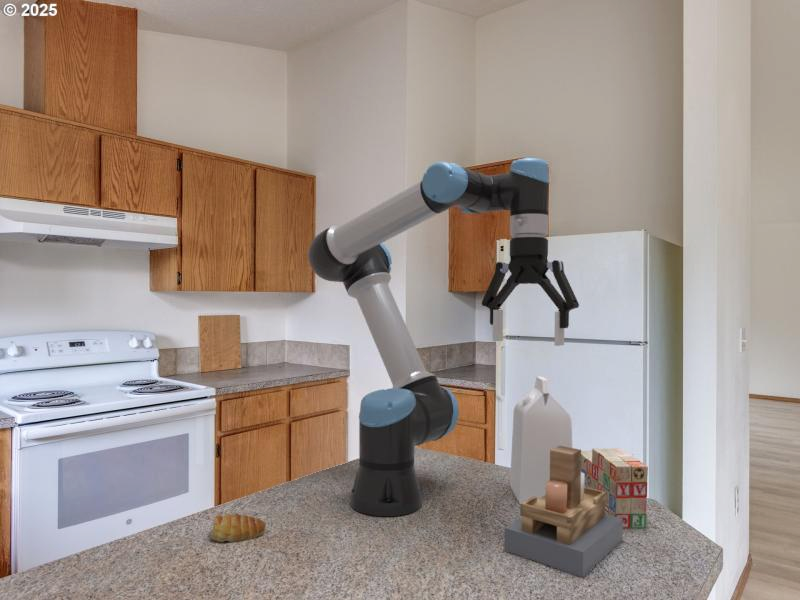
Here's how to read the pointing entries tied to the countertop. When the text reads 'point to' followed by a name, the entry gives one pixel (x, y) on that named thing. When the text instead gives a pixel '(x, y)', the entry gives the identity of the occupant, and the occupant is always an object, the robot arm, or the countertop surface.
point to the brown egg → (556, 496)
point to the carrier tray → (566, 519)
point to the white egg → (582, 486)
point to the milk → (536, 440)
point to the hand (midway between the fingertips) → (527, 343)
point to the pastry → (236, 528)
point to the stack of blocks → (618, 483)
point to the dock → (565, 545)
